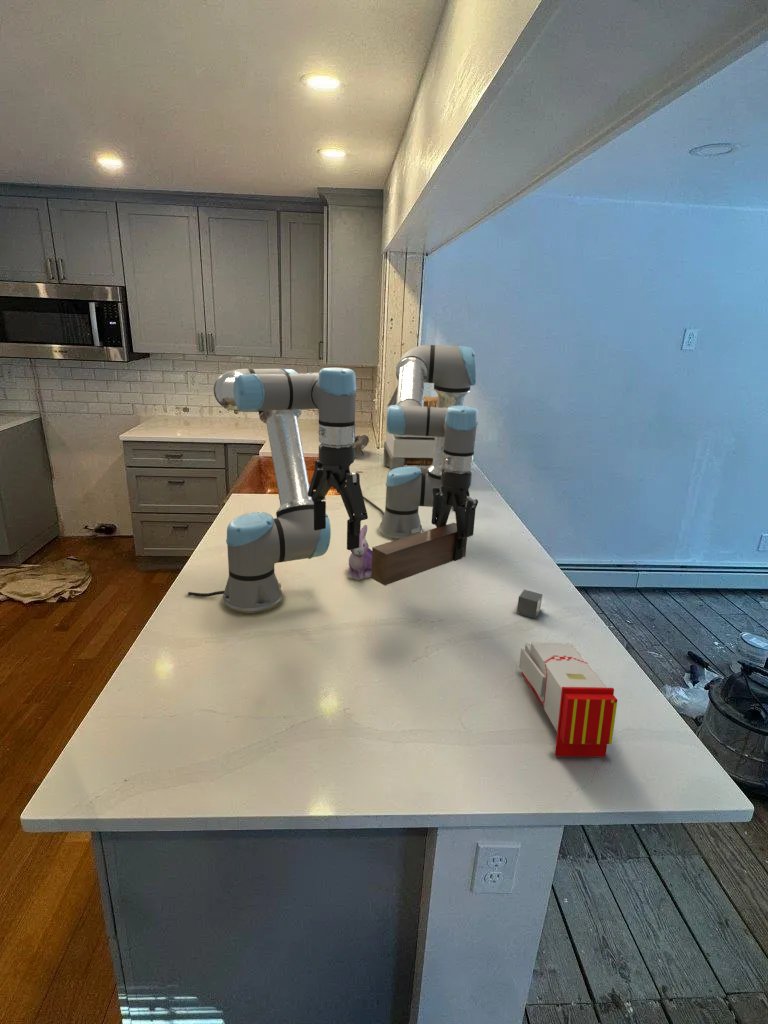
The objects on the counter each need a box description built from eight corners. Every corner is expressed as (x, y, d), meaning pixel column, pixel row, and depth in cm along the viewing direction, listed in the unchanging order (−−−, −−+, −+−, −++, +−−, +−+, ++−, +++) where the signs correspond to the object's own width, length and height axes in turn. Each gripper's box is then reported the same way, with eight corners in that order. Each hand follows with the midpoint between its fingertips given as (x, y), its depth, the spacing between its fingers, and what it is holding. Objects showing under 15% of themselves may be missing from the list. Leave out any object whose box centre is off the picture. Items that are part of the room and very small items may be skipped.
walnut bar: (371, 577, 135) (372, 547, 132) (451, 550, 152) (454, 522, 150) (384, 585, 131) (386, 554, 129) (465, 556, 149) (468, 528, 146)
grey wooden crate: (382, 463, 289) (386, 382, 275) (445, 464, 293) (451, 384, 279) (390, 482, 257) (394, 392, 243) (460, 483, 261) (468, 394, 247)
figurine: (354, 583, 162) (355, 534, 157) (340, 569, 171) (341, 522, 166) (383, 577, 167) (385, 530, 161) (368, 563, 175) (369, 518, 170)
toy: (567, 625, 127) (627, 695, 97) (561, 680, 130) (618, 764, 100) (513, 624, 126) (557, 694, 97) (508, 679, 129) (550, 763, 100)
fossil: (345, 441, 314) (366, 425, 309) (355, 454, 317) (377, 439, 312) (338, 454, 294) (361, 438, 289) (350, 469, 297) (372, 453, 292)
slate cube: (516, 613, 151) (518, 596, 149) (521, 605, 155) (524, 589, 153) (535, 618, 148) (537, 601, 147) (540, 610, 152) (542, 594, 151)
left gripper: (291, 435, 126) (293, 524, 133) (355, 458, 107) (353, 561, 114) (321, 432, 130) (321, 518, 137) (387, 454, 112) (383, 553, 119)
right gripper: (420, 463, 144) (415, 547, 152) (474, 481, 132) (465, 571, 139) (441, 459, 149) (434, 541, 157) (495, 476, 136) (485, 564, 144)
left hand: (335, 538), depth 126 cm, fingers open, 13 cm apart
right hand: (449, 555), depth 148 cm, fingers closed on walnut bar, 5 cm apart
